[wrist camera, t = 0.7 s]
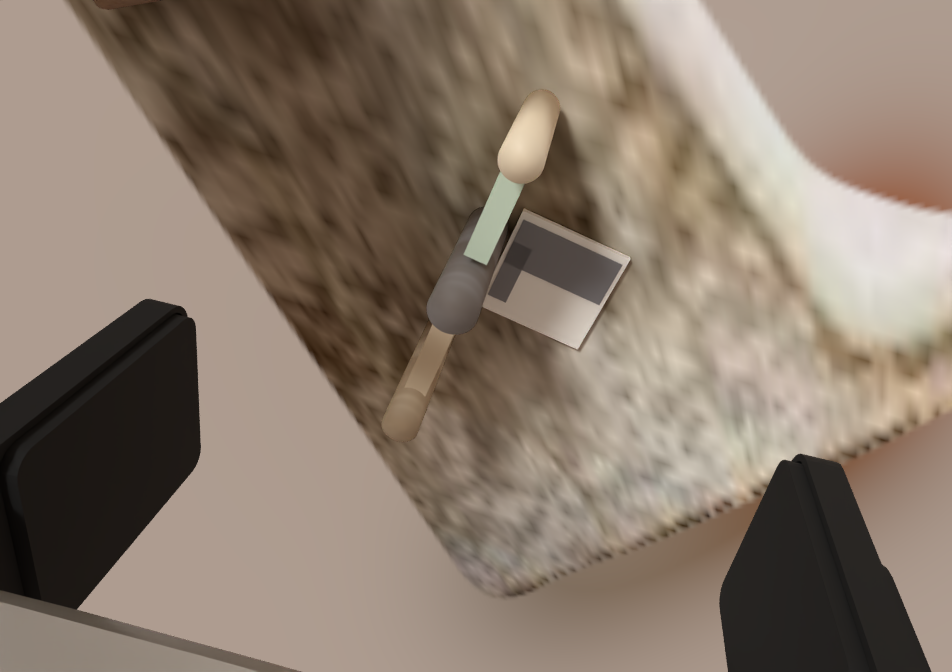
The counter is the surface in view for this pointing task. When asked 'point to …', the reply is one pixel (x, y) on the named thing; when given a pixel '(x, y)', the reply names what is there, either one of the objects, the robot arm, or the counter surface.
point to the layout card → (553, 279)
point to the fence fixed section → (441, 332)
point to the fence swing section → (516, 169)
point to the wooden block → (120, 3)
